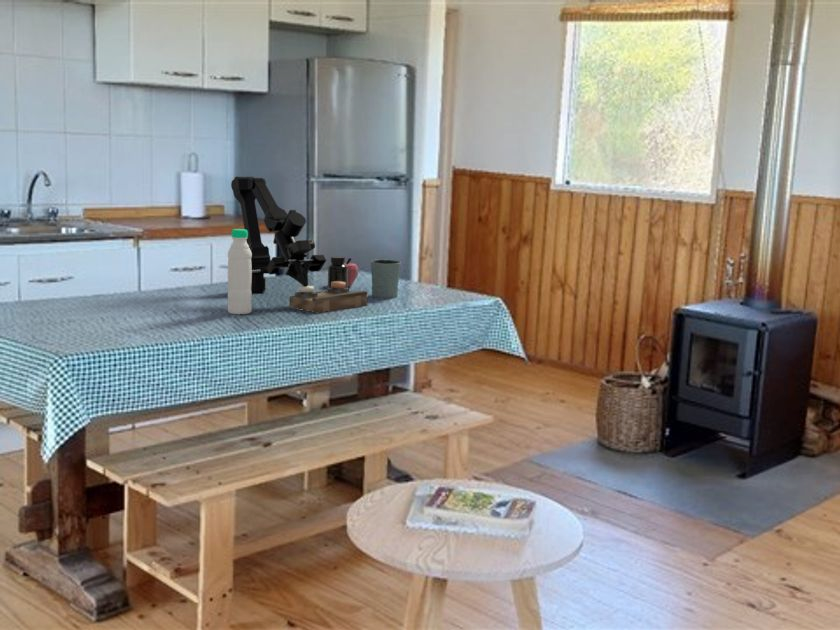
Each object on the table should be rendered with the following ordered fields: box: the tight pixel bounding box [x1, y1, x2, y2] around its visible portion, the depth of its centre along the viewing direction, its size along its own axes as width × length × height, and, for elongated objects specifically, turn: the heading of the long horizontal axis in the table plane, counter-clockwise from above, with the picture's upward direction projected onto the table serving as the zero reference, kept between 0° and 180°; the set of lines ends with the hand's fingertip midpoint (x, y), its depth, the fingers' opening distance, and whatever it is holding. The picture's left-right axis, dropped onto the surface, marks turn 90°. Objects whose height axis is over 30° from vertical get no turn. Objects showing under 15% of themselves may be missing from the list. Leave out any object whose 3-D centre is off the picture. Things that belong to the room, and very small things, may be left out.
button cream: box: [298, 285, 315, 294], centre depth 305 cm, size 5×5×6 cm
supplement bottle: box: [327, 256, 349, 289], centre depth 337 cm, size 7×7×12 cm
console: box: [288, 287, 368, 313], centre depth 309 cm, size 12×22×5 cm, turn 140°
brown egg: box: [331, 281, 346, 289], centre depth 316 cm, size 5×5×6 cm
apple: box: [344, 257, 360, 287], centre depth 349 cm, size 10×9×10 cm
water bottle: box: [227, 228, 253, 316], centre depth 292 cm, size 7×7×25 cm
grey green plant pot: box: [370, 258, 402, 300], centre depth 331 cm, size 10×10×12 cm
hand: (306, 285), depth 305 cm, fingers closed, pressing on button cream
